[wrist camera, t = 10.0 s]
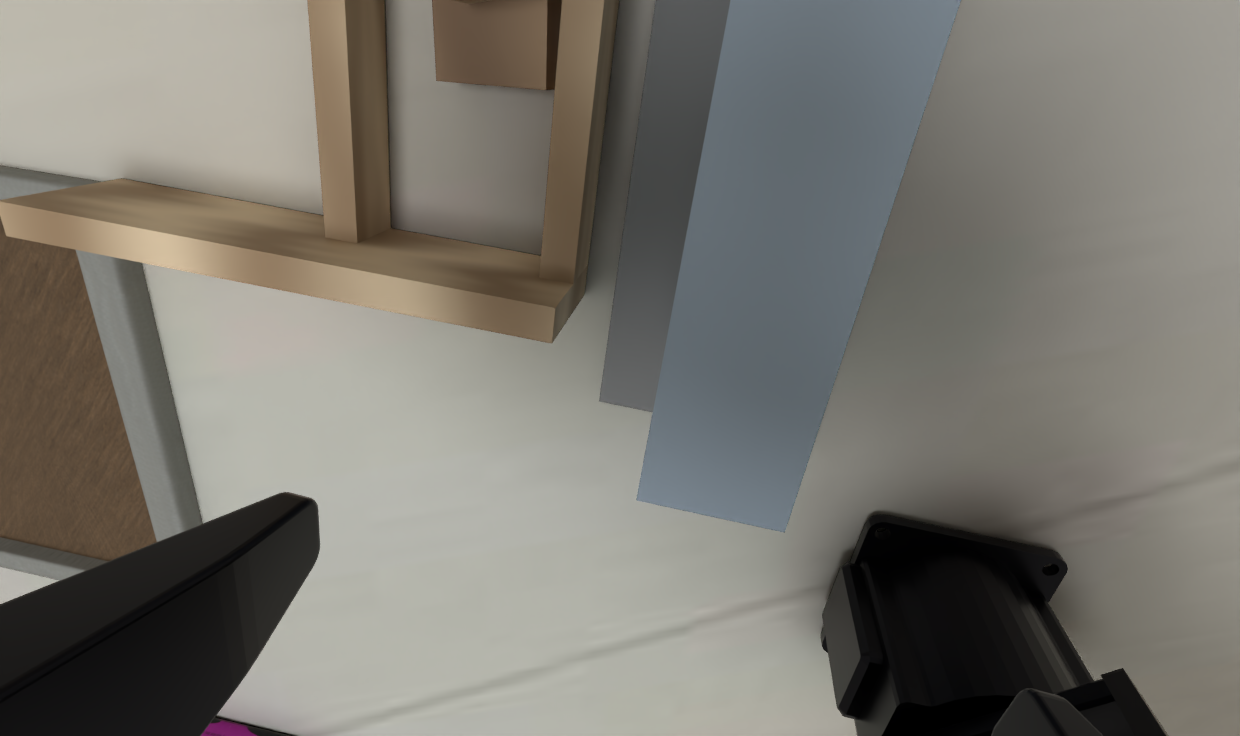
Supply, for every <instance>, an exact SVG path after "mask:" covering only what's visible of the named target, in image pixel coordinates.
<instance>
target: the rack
mask: <svg viewBox="0 0 1240 736" xmlns="http://www.w3.org/2000/svg"><path fill="white" fill-rule="evenodd" d="M307 1H308V14H309V27H310V41H311V54H312V67H313V81H314V94H315V107H316V121H317V134H318V147H319V161H320V174H321V187H322V201H323V214H324V216H322V215H317V214H311V213H306V212H301V211H295V210H290V209H284V208H279V207H274V206H268V205H263V204H257V203H252V202H246V201H241V200H236V199H230V198H225V197H219V196H214V195H209V194H203V193H198V192H192V191H187V190H181V189H176V188H171V187H165V186H160V185H154V184H149V183H144V182H138V181H133V180H127V179H122V178H121V179H115V180H110V181H104V182H98V183H93V184H87V185H82V186H76V187H70V188H65V189H59V190H53V191H48V192H42V193H36V194H31V195H25V196H19V197H14V198H8V199H2V200H0V217H1V220H2V223H3V226H4V230H5V233H6V236H9V237H14V238H19V239H24V240H29V241H34V242H39V243H44V244H49V245H54V246H60V247H65V248H70V249H75V250H80V251H85V252H90V253H95V254H100V255H105V256H110V257H115V258H121V259H126V260H131V261H136V262H141V263H146V264H151V265H156V266H161V267H166V268H171V269H176V270H181V271H187V272H192V273H197V274H202V275H207V276H212V277H217V278H222V279H227V280H232V281H237V282H242V283H248V284H253V285H258V286H263V287H268V288H273V289H278V290H283V291H288V292H293V293H298V294H303V295H308V296H314V297H319V298H324V299H329V300H334V301H339V302H344V303H349V304H354V305H359V306H364V307H369V308H375V309H380V310H385V311H390V312H395V313H400V314H405V315H410V316H415V317H420V318H425V319H430V320H436V321H441V322H446V323H451V324H456V325H461V326H466V327H471V328H476V329H481V330H486V331H491V332H496V333H502V334H507V335H512V336H517V337H522V338H527V339H532V340H537V341H542V342H547V343H552V342H553V341H554V339H555V338H556V336H557V335H558V333H559V332H560V330H561V329H562V327H563V326H564V324H565V323H566V321H567V320H568V318H569V317H570V315H571V314H572V312H573V311H574V309H575V308H576V306H577V305H578V303H579V302H580V301H581V299H582V298H583V296H584V294H585V286H586V277H587V269H588V260H589V252H590V243H591V235H592V226H593V218H594V210H595V201H596V193H597V184H598V176H599V167H600V159H601V150H602V142H603V134H604V125H605V117H606V108H607V100H608V91H609V83H610V74H611V66H612V58H613V49H614V41H615V32H616V24H617V15H618V7H619V0H562V9H561V21H560V33H559V45H558V57H557V69H556V81H555V93H554V105H553V117H552V129H551V141H550V153H549V165H548V177H547V189H546V201H545V214H544V226H543V238H542V250H541V256H539V255H533V254H528V253H523V252H517V251H512V250H506V249H501V248H496V247H490V246H485V245H479V244H474V243H468V242H463V241H458V240H452V239H447V238H441V237H436V236H431V235H425V234H420V233H414V232H409V231H403V230H398V229H393V228H391V219H390V182H389V145H388V108H387V71H386V34H385V0H307Z"/></svg>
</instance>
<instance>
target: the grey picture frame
mask: <svg viewBox="0 0 1240 736" xmlns="http://www.w3.org/2000/svg"><path fill="white" fill-rule="evenodd" d="M98 182H99V181H94V180H87V179H81V178H75V177H69V176H63V175H56V174H50V173H44V172H38V171H31V170H25V169H19V168H13V167H6V166H0V200H2V199H8V198H14V197H19V196H25V195H31V194H36V193H42V192H48V191H53V190H59V189H65V188H70V187H76V186H82V185H87V184H93V183H98ZM201 524H203V523H202V519H201V515H200V510H199V506H198V502H197V498H196V493H195V489H194V485H193V481H192V476H191V472H190V468H189V463H188V459H187V455H186V451H185V446H184V442H183V438H182V433H181V429H180V425H179V421H178V416H177V412H176V408H175V404H174V399H173V395H172V391H171V386H170V382H169V378H168V374H167V369H166V365H165V361H164V357H163V352H162V348H161V344H160V339H159V335H158V331H157V327H156V322H155V318H154V314H153V309H152V305H151V301H150V297H149V292H148V288H147V284H146V280H145V275H144V271H143V267H142V263H141V262H136V261H131V260H126V259H121V258H115V257H110V256H105V255H100V254H95V253H90V252H85V251H80V250H75V249H70V248H65V247H60V246H54V245H49V244H44V243H39V242H34V241H29V240H24V239H19V238H14V237H9V236H6V233H5V230H4V226H3V223H2V220H1V217H0V567H3V568H8V569H12V570H16V571H21V572H25V573H29V574H34V575H38V576H42V577H47V578H51V579H55V580H63V579H65V578H68V577H70V576H73V575H75V574H78V573H80V572H83V571H85V570H88V569H90V568H93V567H96V566H98V565H101V564H103V563H106V562H108V561H111V560H113V559H116V558H118V557H121V556H123V555H126V554H128V553H131V552H133V551H136V550H138V549H141V548H143V547H146V546H148V545H151V544H153V543H156V542H158V541H161V540H163V539H166V538H168V537H171V536H173V535H176V534H178V533H181V532H183V531H186V530H188V529H191V528H193V527H196V526H199V525H201Z"/></svg>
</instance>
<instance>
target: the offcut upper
mask: <svg viewBox="0 0 1240 736" xmlns="http://www.w3.org/2000/svg"><path fill="white" fill-rule="evenodd" d="M453 1H457V2H461V3H466V4H473V3H478V2H484V1H490V0H453Z"/></svg>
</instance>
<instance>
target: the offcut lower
mask: <svg viewBox="0 0 1240 736" xmlns="http://www.w3.org/2000/svg"><path fill="white" fill-rule="evenodd" d="M432 7H433V26H434V44H435V63H436V81H444V82H456V83H468V84H480V85H492V86H503V87H515V88H527V89H539V90H552V89H555V81H556V69H557V57H558V45H559V33H560V21H561V9H562V0H490V1H484V2H478V3H473V4H466V3H461V2H457V1H453V0H432Z"/></svg>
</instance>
